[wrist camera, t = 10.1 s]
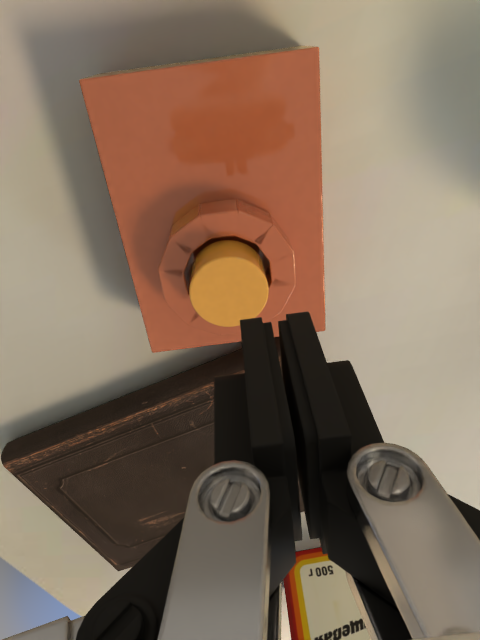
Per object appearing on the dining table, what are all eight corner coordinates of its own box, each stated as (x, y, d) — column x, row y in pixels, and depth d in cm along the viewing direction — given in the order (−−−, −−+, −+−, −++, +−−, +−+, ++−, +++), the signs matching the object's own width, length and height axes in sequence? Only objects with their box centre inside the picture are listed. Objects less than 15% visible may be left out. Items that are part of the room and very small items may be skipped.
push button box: (99, 73, 22) (66, 83, 17) (301, 45, 22) (328, 46, 17) (159, 315, 30) (148, 372, 25) (311, 296, 30) (332, 349, 24)
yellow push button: (184, 244, 21) (182, 262, 20) (260, 234, 21) (265, 251, 20) (197, 310, 23) (196, 332, 22) (267, 301, 23) (272, 322, 21)
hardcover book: (358, 468, 38) (366, 491, 36) (122, 547, 42) (118, 571, 40) (291, 323, 31) (296, 342, 29) (9, 437, 35) (-4, 461, 33)
